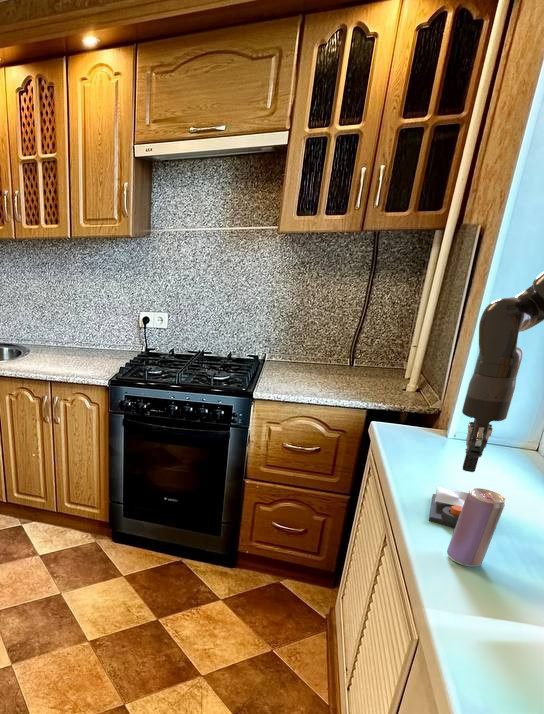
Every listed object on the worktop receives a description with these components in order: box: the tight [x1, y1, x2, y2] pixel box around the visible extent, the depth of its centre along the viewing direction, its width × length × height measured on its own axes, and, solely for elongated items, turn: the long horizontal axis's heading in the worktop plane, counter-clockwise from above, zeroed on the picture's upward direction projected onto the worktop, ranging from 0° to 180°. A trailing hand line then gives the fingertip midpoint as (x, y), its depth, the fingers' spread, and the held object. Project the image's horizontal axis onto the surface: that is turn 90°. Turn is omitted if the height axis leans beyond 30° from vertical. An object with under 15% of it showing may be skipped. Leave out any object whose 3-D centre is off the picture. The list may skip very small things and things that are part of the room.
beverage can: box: [446, 487, 506, 568], centre depth 105 cm, size 6×6×15 cm
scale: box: [428, 493, 459, 529], centre depth 123 cm, size 15×10×3 cm
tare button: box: [450, 505, 462, 516], centre depth 119 cm, size 3×3×2 cm
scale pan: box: [435, 486, 469, 507], centre depth 125 cm, size 9×9×1 cm
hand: (468, 470), depth 116 cm, fingers closed
